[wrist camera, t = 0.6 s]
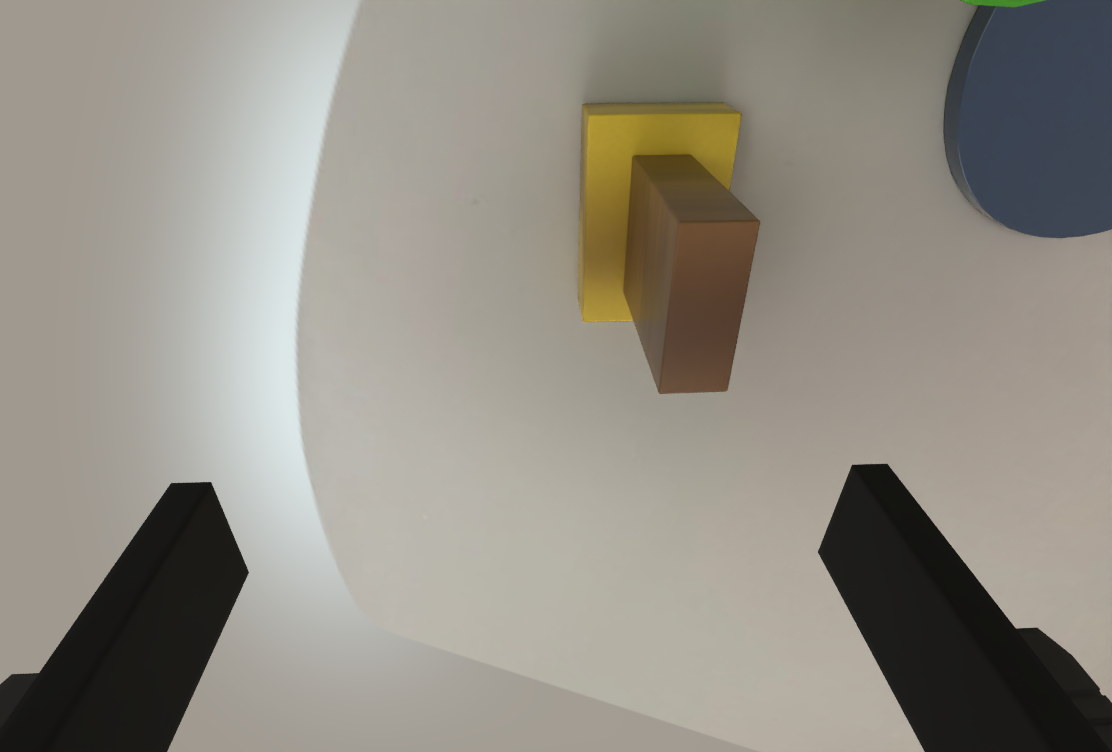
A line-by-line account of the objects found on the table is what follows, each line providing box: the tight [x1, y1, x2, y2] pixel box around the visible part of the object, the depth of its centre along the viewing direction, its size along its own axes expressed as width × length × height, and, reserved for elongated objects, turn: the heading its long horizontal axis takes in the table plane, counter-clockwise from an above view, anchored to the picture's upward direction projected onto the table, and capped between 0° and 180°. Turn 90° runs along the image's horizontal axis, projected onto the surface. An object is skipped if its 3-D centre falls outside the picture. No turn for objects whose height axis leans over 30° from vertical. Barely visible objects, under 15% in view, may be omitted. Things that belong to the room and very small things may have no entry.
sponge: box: [578, 102, 760, 394], centre depth 23 cm, size 9×6×10 cm, turn 0°
